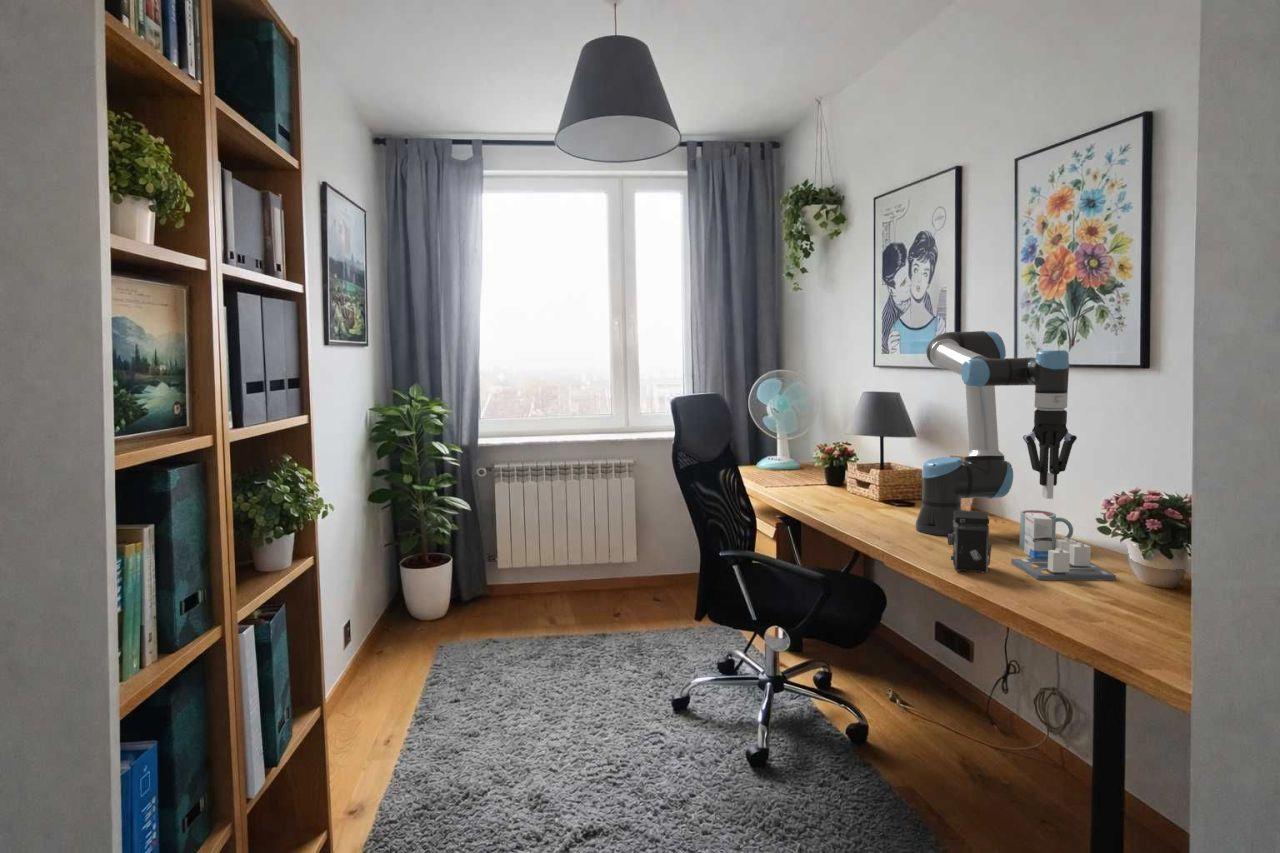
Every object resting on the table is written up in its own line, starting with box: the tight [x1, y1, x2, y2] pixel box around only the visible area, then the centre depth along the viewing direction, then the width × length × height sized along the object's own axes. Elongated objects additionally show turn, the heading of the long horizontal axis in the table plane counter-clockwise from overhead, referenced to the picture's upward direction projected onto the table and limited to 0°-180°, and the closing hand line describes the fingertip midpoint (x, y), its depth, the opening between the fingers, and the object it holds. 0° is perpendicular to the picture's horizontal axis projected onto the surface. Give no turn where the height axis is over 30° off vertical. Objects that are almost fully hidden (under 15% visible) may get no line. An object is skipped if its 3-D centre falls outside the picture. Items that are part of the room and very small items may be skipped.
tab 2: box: [1048, 547, 1070, 572], centre depth 187 cm, size 3×4×6 cm, turn 87°
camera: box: [947, 510, 992, 574], centre depth 196 cm, size 10×10×15 cm
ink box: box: [1023, 513, 1052, 559], centre depth 206 cm, size 9×5×12 cm, turn 168°
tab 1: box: [1054, 536, 1077, 552], centre depth 197 cm, size 3×4×6 cm, turn 87°
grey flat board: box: [1010, 558, 1117, 581], centre depth 192 cm, size 15×19×2 cm
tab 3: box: [1069, 541, 1092, 566], centre depth 191 cm, size 3×4×6 cm, turn 86°
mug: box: [1019, 509, 1074, 550], centre depth 215 cm, size 14×9×10 cm
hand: (1047, 497), depth 195 cm, fingers closed
